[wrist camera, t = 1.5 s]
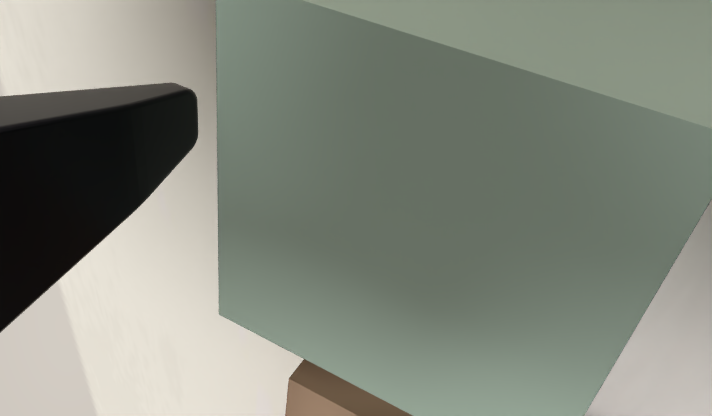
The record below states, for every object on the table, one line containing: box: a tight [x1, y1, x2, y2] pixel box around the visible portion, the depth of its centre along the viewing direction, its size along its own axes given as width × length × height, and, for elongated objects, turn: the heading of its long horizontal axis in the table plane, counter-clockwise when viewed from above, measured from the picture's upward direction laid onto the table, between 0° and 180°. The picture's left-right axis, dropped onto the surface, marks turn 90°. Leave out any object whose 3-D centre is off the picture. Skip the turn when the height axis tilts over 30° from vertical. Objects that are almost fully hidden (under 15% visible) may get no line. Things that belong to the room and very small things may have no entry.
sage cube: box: [216, 0, 712, 416], centre depth 11 cm, size 6×6×6 cm
